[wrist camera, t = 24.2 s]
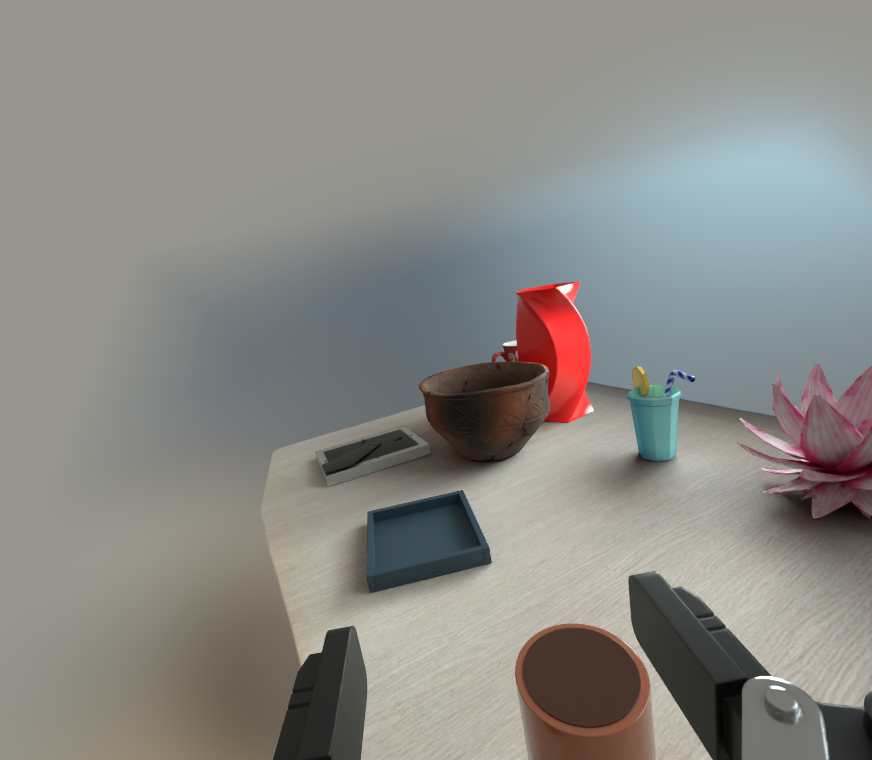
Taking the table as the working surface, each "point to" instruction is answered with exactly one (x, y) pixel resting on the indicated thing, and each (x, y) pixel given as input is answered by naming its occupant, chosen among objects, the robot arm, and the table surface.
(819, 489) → the decorative flower
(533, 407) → the bowl
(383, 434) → the picture frame
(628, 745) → the tumbler
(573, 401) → the vase
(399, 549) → the tray
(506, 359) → the mug
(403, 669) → the table surface
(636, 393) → the cup
